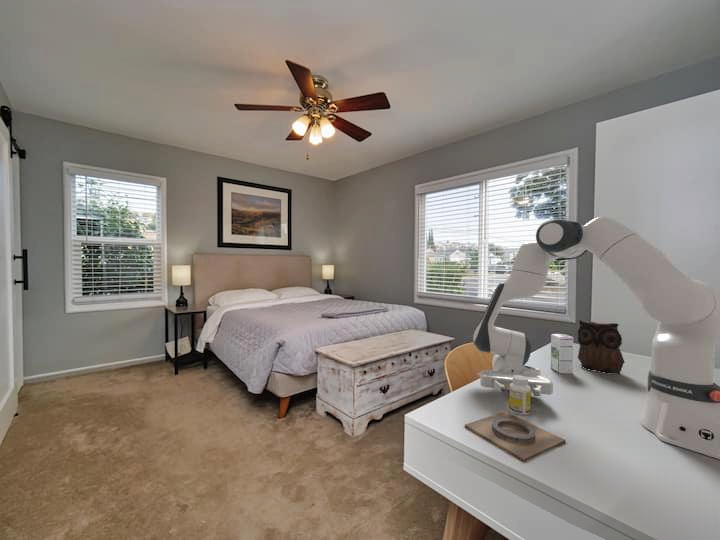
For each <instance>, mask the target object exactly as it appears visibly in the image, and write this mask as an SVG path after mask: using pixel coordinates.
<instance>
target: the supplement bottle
mask: <svg viewBox="0 0 720 540" xmlns="http://www.w3.org/2000/svg"><path fill="white" fill-rule="evenodd" d="M512 381H513V383H511V384H510V390H508V392H509V400H508V401H509V405H508V407H509V411H510V412H512V413H513V414H517V415H519V416H528V415H530V414H531V395H532V393H531V389H530V387H529V386H528V385H527V384H528V378H527V377H524V376H520V375H514V376H512Z"/></svg>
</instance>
